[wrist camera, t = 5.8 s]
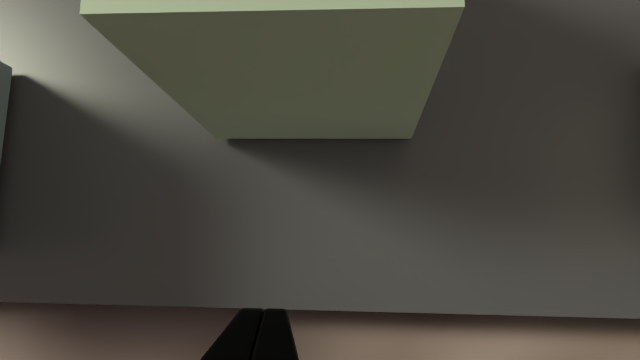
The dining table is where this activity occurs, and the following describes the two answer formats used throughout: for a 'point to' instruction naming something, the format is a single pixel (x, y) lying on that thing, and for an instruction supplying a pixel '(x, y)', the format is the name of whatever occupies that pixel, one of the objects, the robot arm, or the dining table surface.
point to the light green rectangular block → (287, 61)
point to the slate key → (4, 98)
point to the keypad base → (333, 180)
